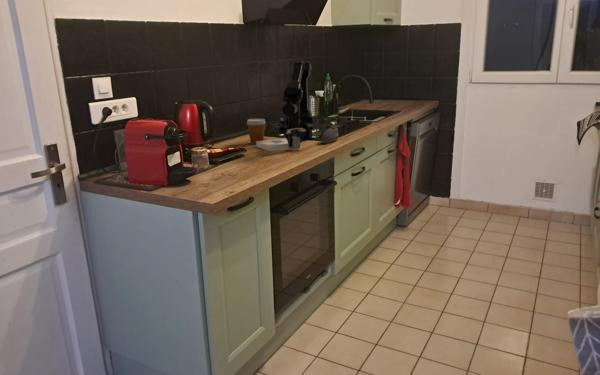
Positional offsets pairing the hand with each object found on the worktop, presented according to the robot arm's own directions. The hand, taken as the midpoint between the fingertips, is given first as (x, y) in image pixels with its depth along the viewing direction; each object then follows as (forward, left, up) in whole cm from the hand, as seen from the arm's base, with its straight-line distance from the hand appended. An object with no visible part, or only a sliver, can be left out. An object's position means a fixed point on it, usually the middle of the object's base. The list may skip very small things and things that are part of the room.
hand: (294, 146), depth 232 cm
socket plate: (+3, -11, -2) cm, 12 cm away
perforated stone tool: (-24, -5, -2) cm, 25 cm away
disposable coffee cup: (+7, -25, -2) cm, 26 cm away
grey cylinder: (0, 0, -2) cm, 2 cm away
